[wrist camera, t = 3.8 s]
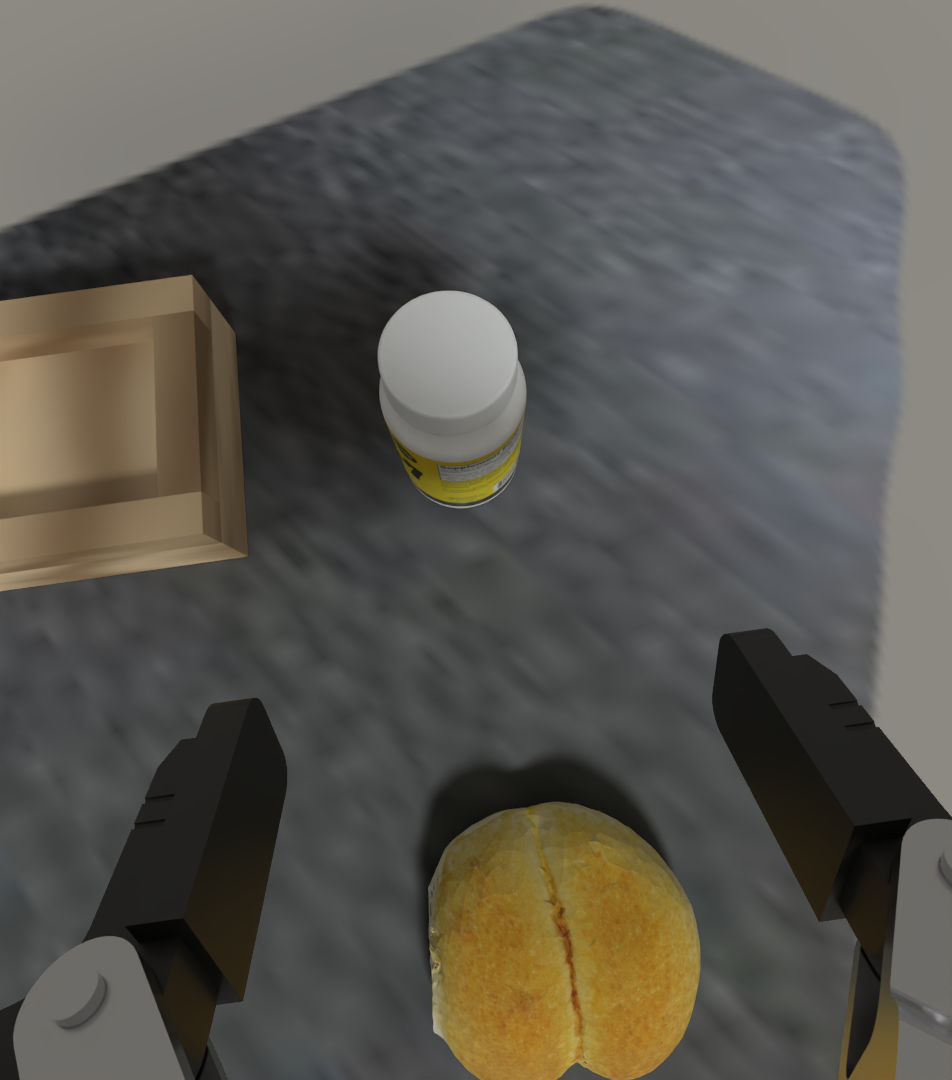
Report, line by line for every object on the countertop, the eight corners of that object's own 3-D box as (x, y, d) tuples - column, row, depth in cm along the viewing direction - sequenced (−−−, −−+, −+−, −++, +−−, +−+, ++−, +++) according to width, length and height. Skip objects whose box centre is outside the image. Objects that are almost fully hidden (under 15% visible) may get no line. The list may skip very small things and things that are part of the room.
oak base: (-1, 591, 25) (-93, 574, 21) (6, 364, 27) (-76, 311, 23) (248, 556, 25) (203, 533, 21) (235, 333, 27) (192, 274, 23)
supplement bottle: (393, 416, 26) (347, 295, 18) (502, 390, 26) (507, 257, 18) (418, 523, 25) (383, 448, 17) (531, 495, 25) (551, 407, 17)
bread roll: (703, 1042, 21) (751, 1126, 17) (440, 1067, 21) (428, 1156, 17) (664, 785, 23) (700, 807, 19) (422, 807, 23) (407, 834, 19)
